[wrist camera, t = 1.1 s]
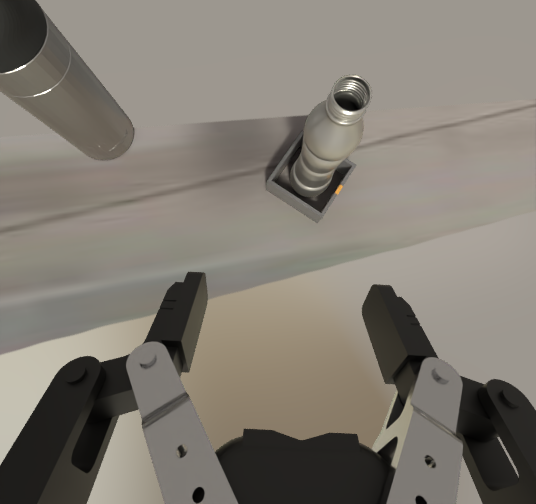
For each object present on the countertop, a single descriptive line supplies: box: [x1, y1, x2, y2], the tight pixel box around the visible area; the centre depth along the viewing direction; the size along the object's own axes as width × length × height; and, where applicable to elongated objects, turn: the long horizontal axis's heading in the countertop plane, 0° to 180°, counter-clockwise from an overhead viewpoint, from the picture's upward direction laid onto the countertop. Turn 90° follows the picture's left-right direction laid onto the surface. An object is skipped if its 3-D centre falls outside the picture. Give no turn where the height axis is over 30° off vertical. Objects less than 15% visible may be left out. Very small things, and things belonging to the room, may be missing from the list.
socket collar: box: [266, 130, 356, 223], centre depth 40 cm, size 10×10×4 cm
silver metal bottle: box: [290, 75, 372, 197], centre depth 32 cm, size 6×7×20 cm
